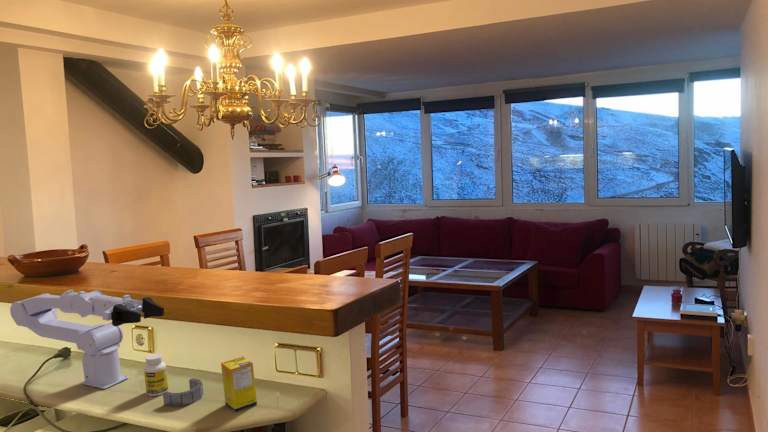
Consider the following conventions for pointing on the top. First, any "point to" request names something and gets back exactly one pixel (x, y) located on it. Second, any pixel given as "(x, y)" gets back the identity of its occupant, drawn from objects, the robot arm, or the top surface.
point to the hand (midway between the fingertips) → (151, 314)
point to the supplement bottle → (155, 375)
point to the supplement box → (239, 383)
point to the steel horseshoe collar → (185, 395)
